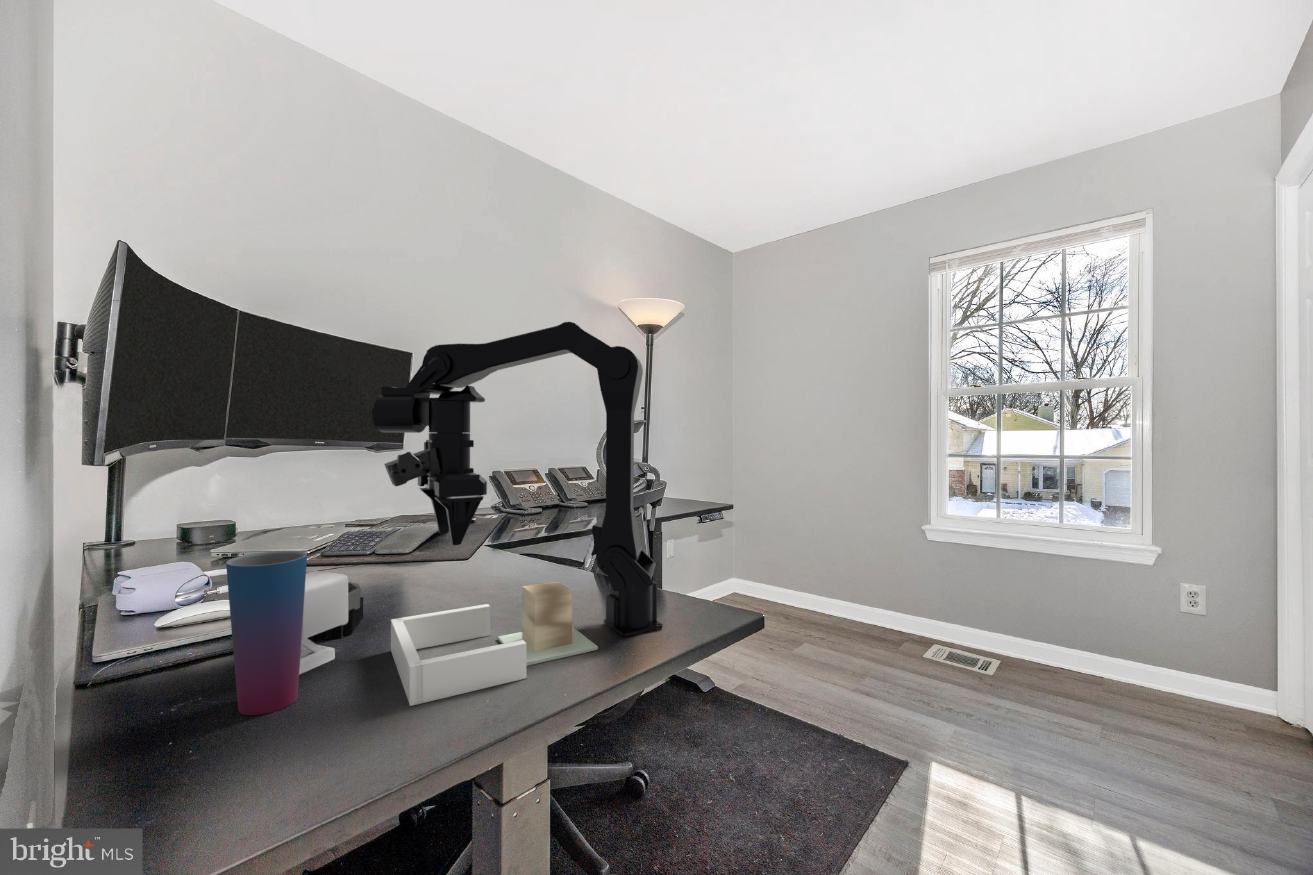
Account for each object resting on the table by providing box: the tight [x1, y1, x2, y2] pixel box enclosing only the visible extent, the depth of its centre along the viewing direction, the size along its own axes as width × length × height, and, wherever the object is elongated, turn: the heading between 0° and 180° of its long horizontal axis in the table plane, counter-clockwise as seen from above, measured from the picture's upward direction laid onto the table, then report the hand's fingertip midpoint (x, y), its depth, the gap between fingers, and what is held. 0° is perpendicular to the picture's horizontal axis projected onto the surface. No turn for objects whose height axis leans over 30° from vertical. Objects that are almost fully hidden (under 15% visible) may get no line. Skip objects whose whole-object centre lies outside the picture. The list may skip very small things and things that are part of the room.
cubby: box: [390, 603, 527, 707], centre depth 67 cm, size 12×16×4 cm
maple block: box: [521, 580, 573, 652], centre depth 73 cm, size 5×5×7 cm
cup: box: [225, 550, 308, 716], centre depth 57 cm, size 7×7×15 cm
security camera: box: [299, 570, 349, 676], centre depth 67 cm, size 6×7×10 cm
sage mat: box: [497, 626, 599, 667], centre depth 73 cm, size 10×10×1 cm
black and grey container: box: [307, 581, 364, 642], centre depth 78 cm, size 10×6×10 cm
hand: (449, 539), depth 81 cm, fingers open, 9 cm apart
